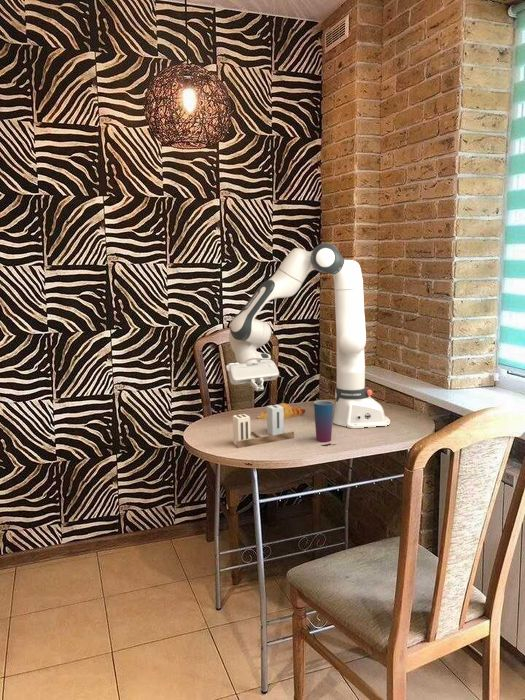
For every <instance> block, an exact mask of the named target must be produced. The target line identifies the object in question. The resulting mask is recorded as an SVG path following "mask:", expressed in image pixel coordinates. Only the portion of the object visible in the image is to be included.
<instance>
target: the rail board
mask: <svg viewBox="0 0 525 700" xmlns="http://www.w3.org/2000/svg"><path fill="white" fill-rule="evenodd" d="M250 435H252V436H253V437H255V438H251V439H248V440H242V441H237V445H236V449H242V448H247V447H253V446H257V445H258V446H259V445H263V444H269V443H274V442H280V441H286V440H292V439H295V431H289V432H284V433H282V434H276V435H271V434H270V435H265V436H260V435H259V434H257V433H256V432H254V431H250Z"/></svg>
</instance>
